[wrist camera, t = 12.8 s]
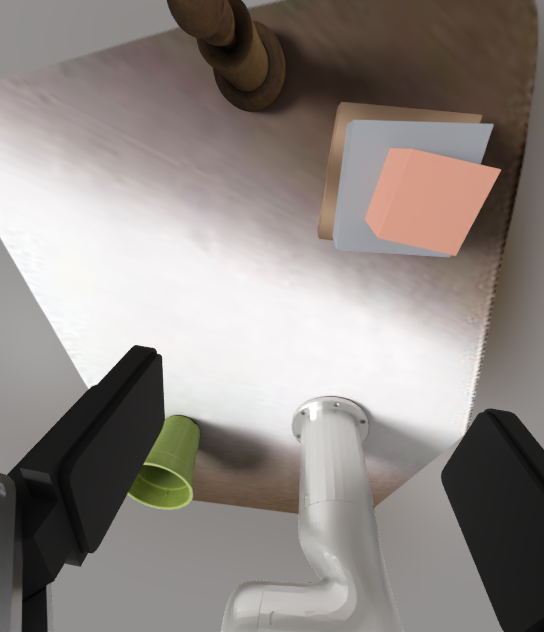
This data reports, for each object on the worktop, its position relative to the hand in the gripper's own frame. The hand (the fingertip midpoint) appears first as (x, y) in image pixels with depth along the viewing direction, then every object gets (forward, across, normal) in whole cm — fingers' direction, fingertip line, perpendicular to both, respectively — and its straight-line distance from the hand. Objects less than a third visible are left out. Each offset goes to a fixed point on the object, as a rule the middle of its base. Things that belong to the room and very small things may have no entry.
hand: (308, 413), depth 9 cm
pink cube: (+21, -7, -5) cm, 23 cm away
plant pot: (+31, +16, +40) cm, 53 cm away
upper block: (+26, -7, -5) cm, 27 cm away
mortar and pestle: (+30, +8, -13) cm, 34 cm away
